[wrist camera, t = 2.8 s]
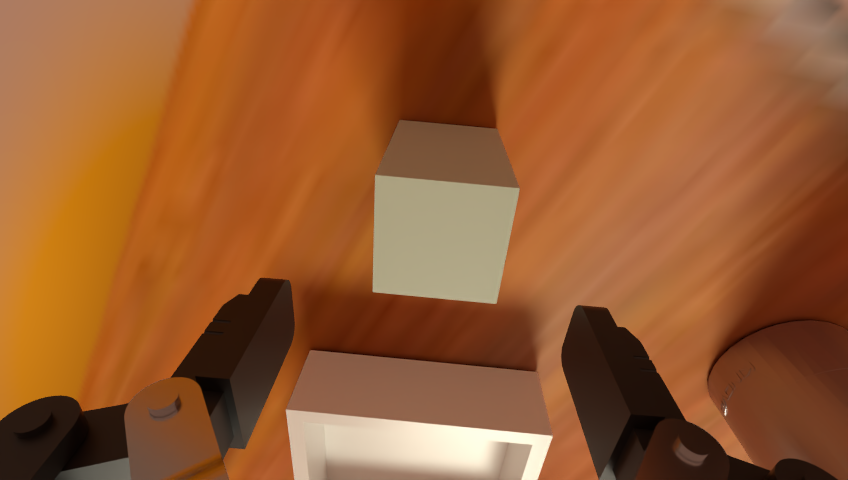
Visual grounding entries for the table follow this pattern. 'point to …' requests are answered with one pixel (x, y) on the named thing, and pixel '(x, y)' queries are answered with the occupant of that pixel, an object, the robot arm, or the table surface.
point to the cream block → (443, 212)
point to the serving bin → (415, 420)
